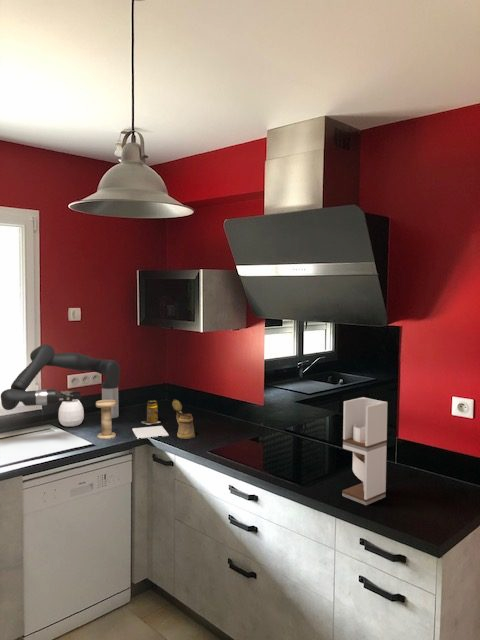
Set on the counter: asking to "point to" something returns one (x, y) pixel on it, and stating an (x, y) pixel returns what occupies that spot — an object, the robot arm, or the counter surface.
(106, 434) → the wooden spool
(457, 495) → the counter surface
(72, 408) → the white faceted vase
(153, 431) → the mat
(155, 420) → the condiment
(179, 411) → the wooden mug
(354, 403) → the display case
